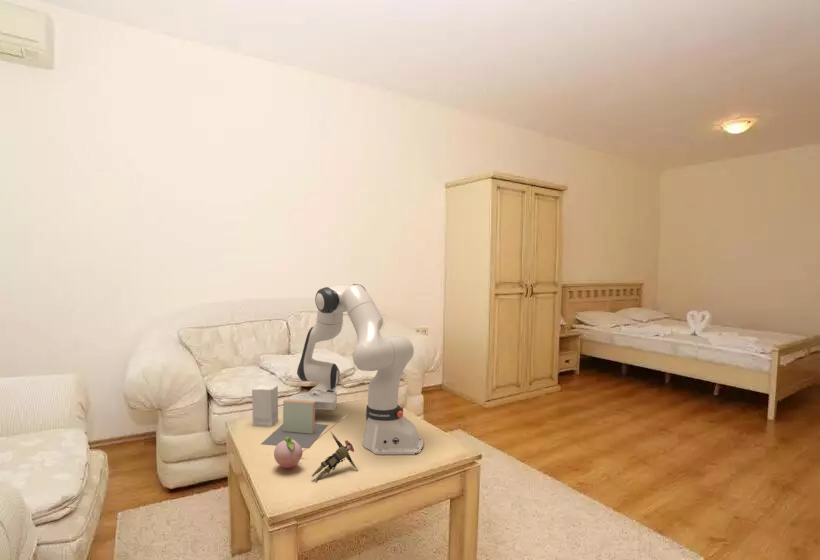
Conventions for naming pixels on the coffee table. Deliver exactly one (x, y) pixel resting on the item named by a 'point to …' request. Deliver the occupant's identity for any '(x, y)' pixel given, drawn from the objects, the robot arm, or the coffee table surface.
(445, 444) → the coffee table surface
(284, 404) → the tile
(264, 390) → the skincare box
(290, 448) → the decorative fruit
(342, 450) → the samurai figurine
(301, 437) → the mat
